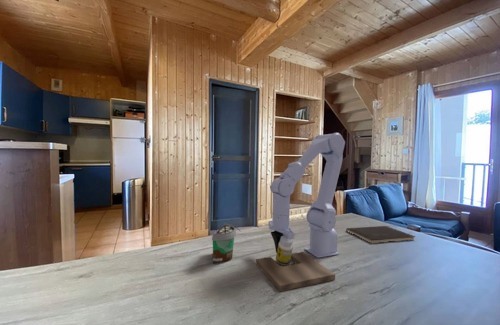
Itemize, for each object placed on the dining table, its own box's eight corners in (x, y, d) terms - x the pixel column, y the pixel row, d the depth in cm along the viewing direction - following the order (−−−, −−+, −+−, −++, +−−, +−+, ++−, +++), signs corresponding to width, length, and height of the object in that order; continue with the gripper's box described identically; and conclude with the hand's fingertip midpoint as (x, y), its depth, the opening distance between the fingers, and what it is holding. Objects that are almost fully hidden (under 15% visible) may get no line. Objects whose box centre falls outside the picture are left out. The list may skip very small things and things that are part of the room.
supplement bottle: (274, 255, 76) (278, 233, 74) (288, 256, 77) (292, 234, 74) (276, 265, 72) (281, 242, 69) (291, 266, 72) (295, 244, 70)
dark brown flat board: (414, 241, 99) (415, 236, 99) (371, 245, 93) (371, 239, 93) (384, 229, 114) (384, 225, 114) (345, 232, 109) (346, 227, 109)
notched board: (302, 256, 79) (302, 252, 79) (335, 279, 64) (335, 274, 64) (255, 263, 73) (256, 259, 73) (279, 291, 58) (279, 285, 58)
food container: (229, 267, 70) (230, 235, 70) (211, 265, 71) (212, 233, 71) (239, 251, 82) (240, 224, 82) (223, 249, 83) (224, 223, 83)
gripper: (261, 209, 81) (260, 246, 82) (280, 220, 68) (279, 264, 68) (278, 208, 84) (277, 244, 84) (300, 218, 70) (299, 261, 71)
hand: (279, 253), depth 76 cm, fingers closed, pressing on supplement bottle
